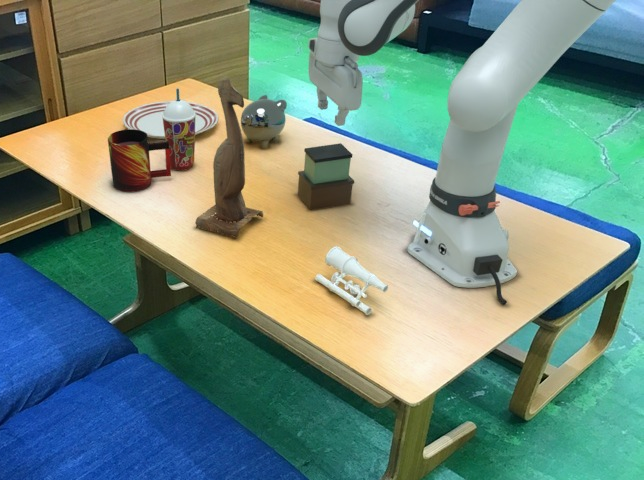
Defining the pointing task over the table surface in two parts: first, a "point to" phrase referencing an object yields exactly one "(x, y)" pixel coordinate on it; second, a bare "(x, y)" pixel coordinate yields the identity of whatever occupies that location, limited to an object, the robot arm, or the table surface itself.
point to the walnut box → (324, 192)
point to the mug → (134, 160)
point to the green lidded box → (327, 163)
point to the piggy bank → (263, 120)
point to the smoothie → (180, 133)
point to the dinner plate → (152, 121)
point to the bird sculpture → (228, 173)
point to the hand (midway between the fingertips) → (330, 116)
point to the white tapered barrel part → (352, 268)
